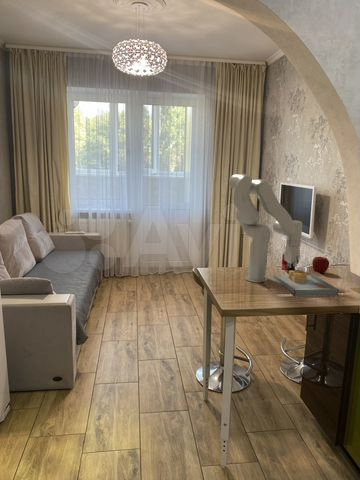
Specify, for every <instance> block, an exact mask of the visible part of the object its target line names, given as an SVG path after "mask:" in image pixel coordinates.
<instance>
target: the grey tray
mask: <svg viewBox="0 0 360 480" xmlns="http://www.w3.org/2000/svg"><path fill="white" fill-rule="evenodd" d="M272 277H273V279H274V280H275V281H277V282H278V283H279V284H280V285H282V286H283V287H284V288H286V289H288V290H289V291H290V292H291V293H290V294H291V295H292V296H294V297H313V296H314V297H315V296H316V297H318V296H319V297H320V296H339V293H340V290H339V288H337V287H335V286H334V285H332V284H330V282H329V283H328V282H327V281H325V280H324V279H322V278H320V277H318V276H316V275H315V274H314V273H311V276H307V279H306V282H293V281H291V280H290V279H289V278H288V277H279V276H277V274H273V276H272ZM318 283H319V284H321V285H323V286H324V287H325V288H322V287H319V286H318V285H316V284H318ZM290 284H291V285H293V286H291V285H290ZM294 287H295V288H294Z"/></svg>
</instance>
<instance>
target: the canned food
mask: <svg viewBox="0 0 360 480" xmlns="http://www.w3.org/2000/svg"><path fill="white" fill-rule="evenodd" d="M284 254H285V251H283V252H282V257H281V258H282V260H281V271H288V263H287V261H285V260H284ZM295 270H296V267H295V268H294V271H295Z"/></svg>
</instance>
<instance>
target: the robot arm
mask: <svg viewBox="0 0 360 480" xmlns="http://www.w3.org/2000/svg"><path fill="white" fill-rule="evenodd" d="M228 184H229V186H230V187H231V189H233V190H234V191H233V198H232V199H233V203H234V205H235V208H236V210H235V218H236V220H237V221H238V224H239V226H240V227H241V229H242V231H244V234H245V235H246V236H247V237H249V238H252V239H251V243H250V247H249V259H248V274H247V275H245V277H244V280H246V281H248V282H252V283H259V284H260V283H261V284H262V283H264V282H265V281H268V280H269V278H268V277H267V276H266V275H267V274H266V273H267V266H268V265H267V263H268V251H269V250H268V249H269V242H270V240H271V236H272V233H271V229H270V227H269V226H268V225H267V224H265V223H264V222H263V223H262V222H260V221H259V220H260V214H259V211H258V209H257V208H256V206H255V205H254V203H253V201H252V199H251V196H250V195H251V194H252V195H255V196H256V197H257V198H258V201H259V202H260V204H261V206H262V208H263V210H264V211H265V212H266V213H267V214H268V215H269V216H271V217H272V218H273V219H275V221H274V222H273V224H272V228H273V231H274V232H275V233H277V234H280V235H282V236H285V237H286V245H285V247H284V248H285V249H284V252H285V254H284V260H285V261H287V263H288V271H287V270H286V271H287V272H286V273H287V275H289V271H295V270H294V268H295V269H296V267H297V266H298V264H299V263H300V255H301V253H300V251H301V250H300V249H301V244H302V243H301V241H302V233H303V222H302V221H300V220H293V218H292V216H291V215H290V213H289V212H288V211H287V209H285V208H284V206H283V205H282V204H281V203H280V201H279V199H278V198H277V196H276V194H275V192H274V190H273V189H272V186H271V184H270V183H269V181H267V180H265V179H263V178H262V179H261V178H254V177H251V176H250V174H249V175H248V174H245V173H234V174H233V175H230V177H229V181H228Z"/></svg>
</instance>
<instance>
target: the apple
mask: <svg viewBox="0 0 360 480" xmlns="http://www.w3.org/2000/svg"><path fill="white" fill-rule="evenodd" d="M311 263H312V264H311V266H312V269H313V272H316V273H317V274H325V273H326V272H327V271H328V269H329V266H330V261H329V259H328V258H327V257H324V256H316V257H314V258H313V259H312V262H311Z"/></svg>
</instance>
